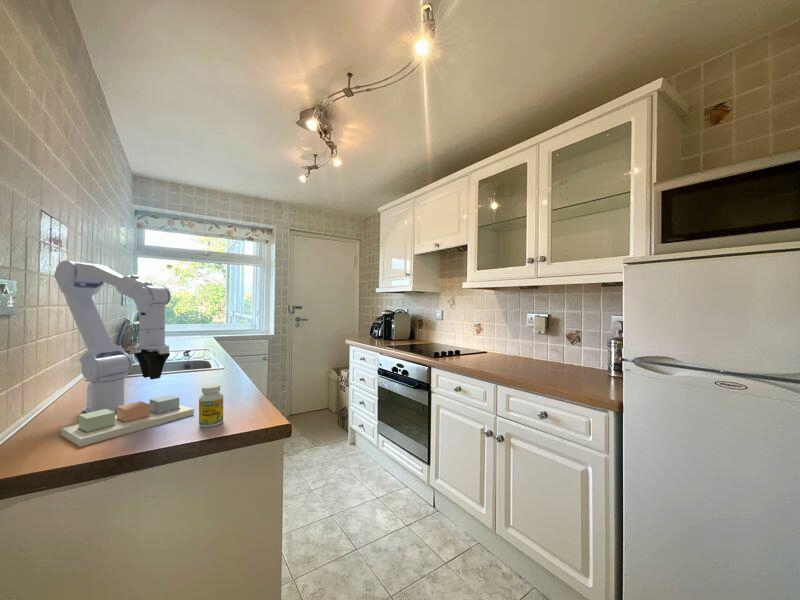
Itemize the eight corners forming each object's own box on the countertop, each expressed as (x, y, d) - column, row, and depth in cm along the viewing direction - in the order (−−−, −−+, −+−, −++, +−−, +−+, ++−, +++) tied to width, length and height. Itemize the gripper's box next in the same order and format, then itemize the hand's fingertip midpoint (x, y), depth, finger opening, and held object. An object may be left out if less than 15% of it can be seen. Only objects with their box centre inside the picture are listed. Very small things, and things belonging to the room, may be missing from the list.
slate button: (149, 410, 87) (149, 399, 87) (170, 405, 91) (170, 394, 91) (158, 413, 84) (158, 402, 84) (179, 408, 89) (179, 397, 89)
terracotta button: (116, 418, 81) (116, 406, 81) (140, 412, 85) (140, 401, 85) (125, 422, 78) (125, 409, 78) (149, 416, 83) (149, 404, 83)
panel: (61, 435, 75) (61, 428, 75) (171, 407, 95) (171, 402, 95) (80, 446, 69) (80, 439, 69) (193, 414, 89) (193, 408, 89)
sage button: (78, 427, 75) (78, 414, 75) (106, 421, 79) (106, 408, 79) (86, 432, 72) (86, 418, 72) (114, 424, 77) (115, 412, 77)
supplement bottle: (222, 418, 86) (222, 382, 86) (224, 425, 81) (224, 386, 81) (198, 422, 83) (198, 385, 83) (199, 429, 78) (199, 390, 78)
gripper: (123, 328, 90) (122, 377, 90) (147, 331, 83) (147, 384, 82) (152, 327, 96) (152, 372, 96) (177, 329, 89) (177, 378, 89)
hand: (151, 377), depth 90 cm, fingers open, 3 cm apart
